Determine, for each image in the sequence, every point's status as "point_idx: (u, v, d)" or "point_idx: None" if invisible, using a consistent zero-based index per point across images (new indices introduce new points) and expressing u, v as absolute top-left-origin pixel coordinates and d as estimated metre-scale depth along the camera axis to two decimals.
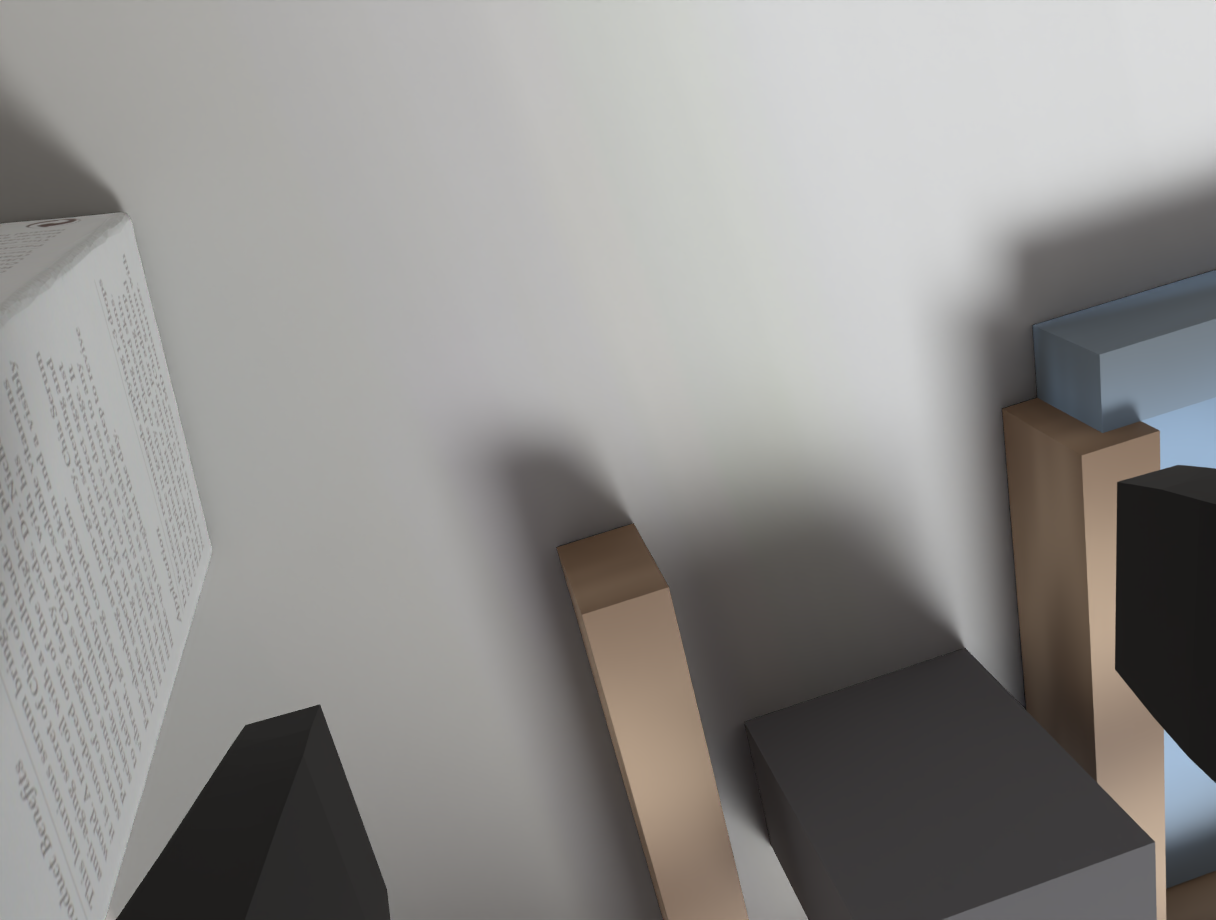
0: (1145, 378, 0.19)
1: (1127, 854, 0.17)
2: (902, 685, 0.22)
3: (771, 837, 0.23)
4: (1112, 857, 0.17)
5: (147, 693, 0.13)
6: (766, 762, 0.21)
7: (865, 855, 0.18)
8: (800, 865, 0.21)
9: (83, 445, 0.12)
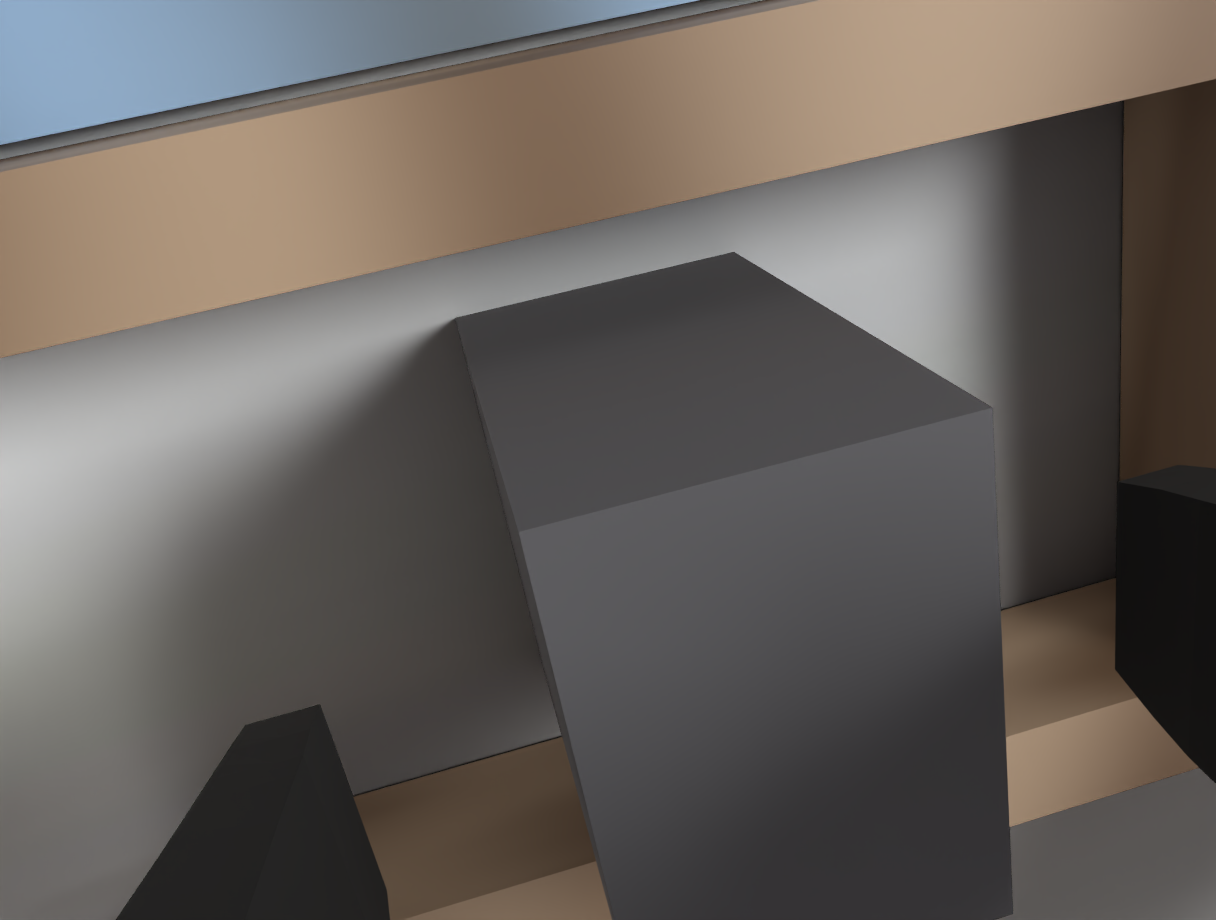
0: None
1: (545, 585, 0.07)
2: (491, 460, 0.13)
3: None
4: (546, 618, 0.08)
5: None
6: None
7: None
8: None
9: None
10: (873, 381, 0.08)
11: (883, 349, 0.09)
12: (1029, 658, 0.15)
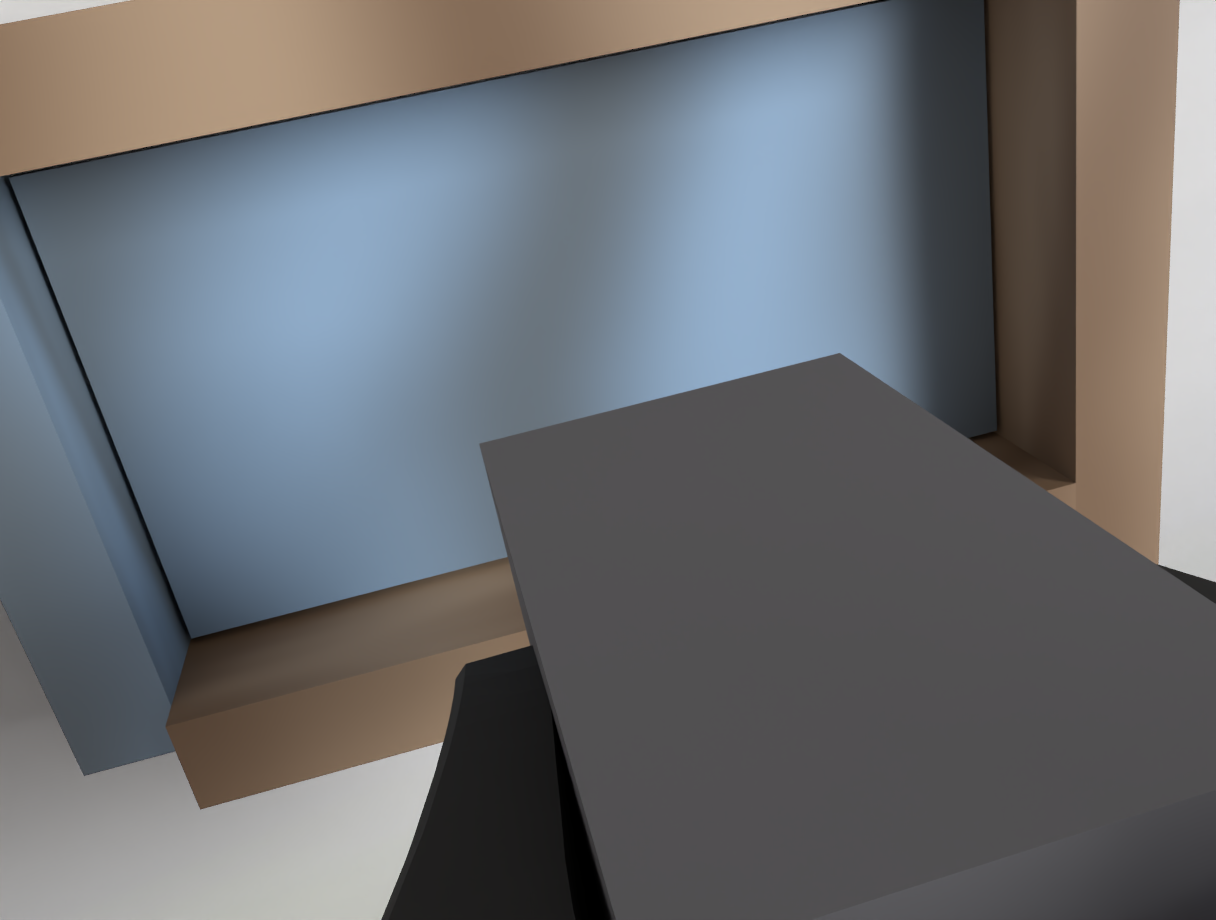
0: (113, 714, 0.15)
1: None
2: (526, 627, 0.10)
3: None
4: None
5: None
6: None
7: None
8: None
9: None
10: (1153, 638, 0.05)
11: (1137, 562, 0.06)
12: None
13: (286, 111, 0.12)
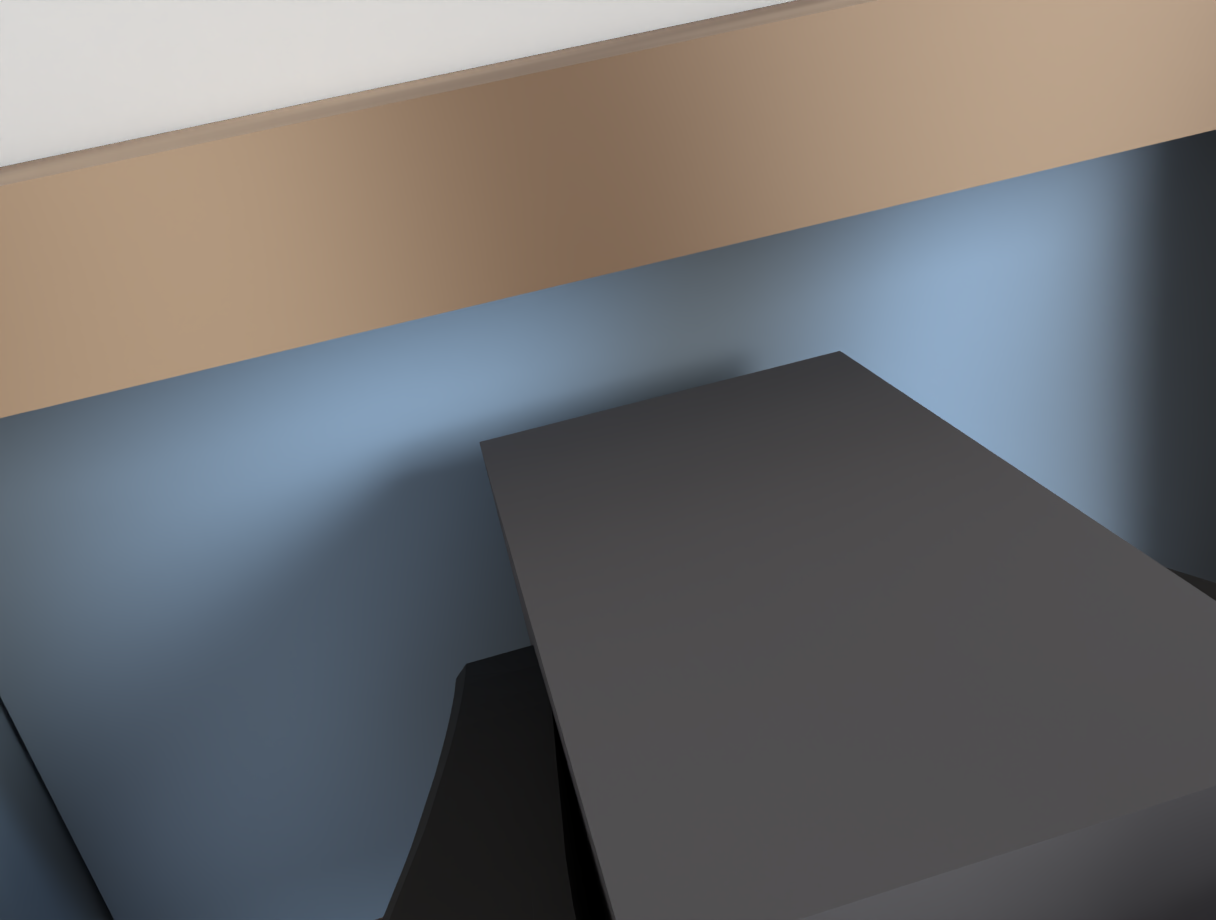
0: None
1: None
2: (526, 626, 0.10)
3: None
4: None
5: None
6: None
7: None
8: None
9: None
10: (1153, 635, 0.05)
11: (1137, 561, 0.06)
12: None
13: (267, 344, 0.08)
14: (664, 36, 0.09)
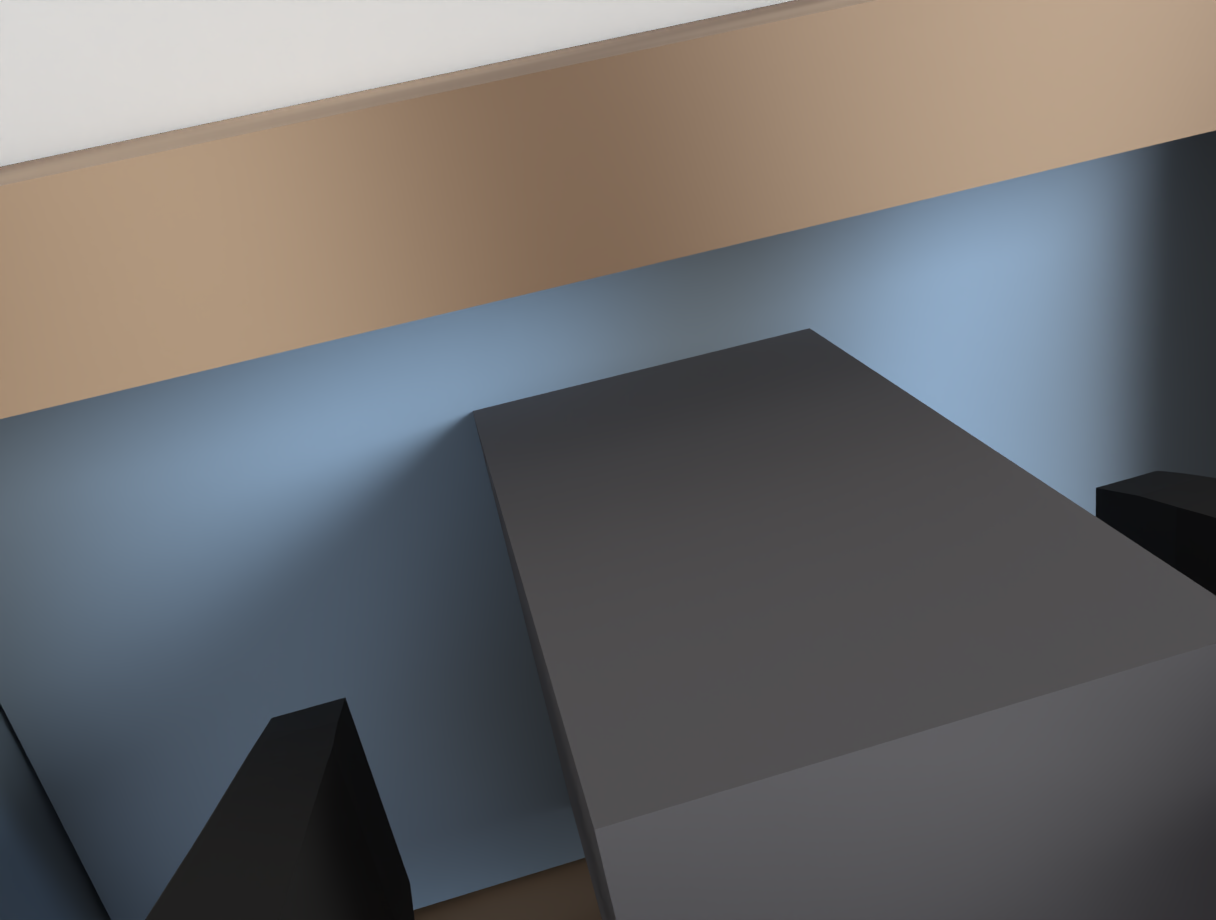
0: None
1: (630, 893, 0.05)
2: (516, 583, 0.11)
3: None
4: None
5: None
6: None
7: None
8: None
9: None
10: (1064, 562, 0.06)
11: (1057, 502, 0.07)
12: None
13: (265, 345, 0.08)
14: (665, 36, 0.09)
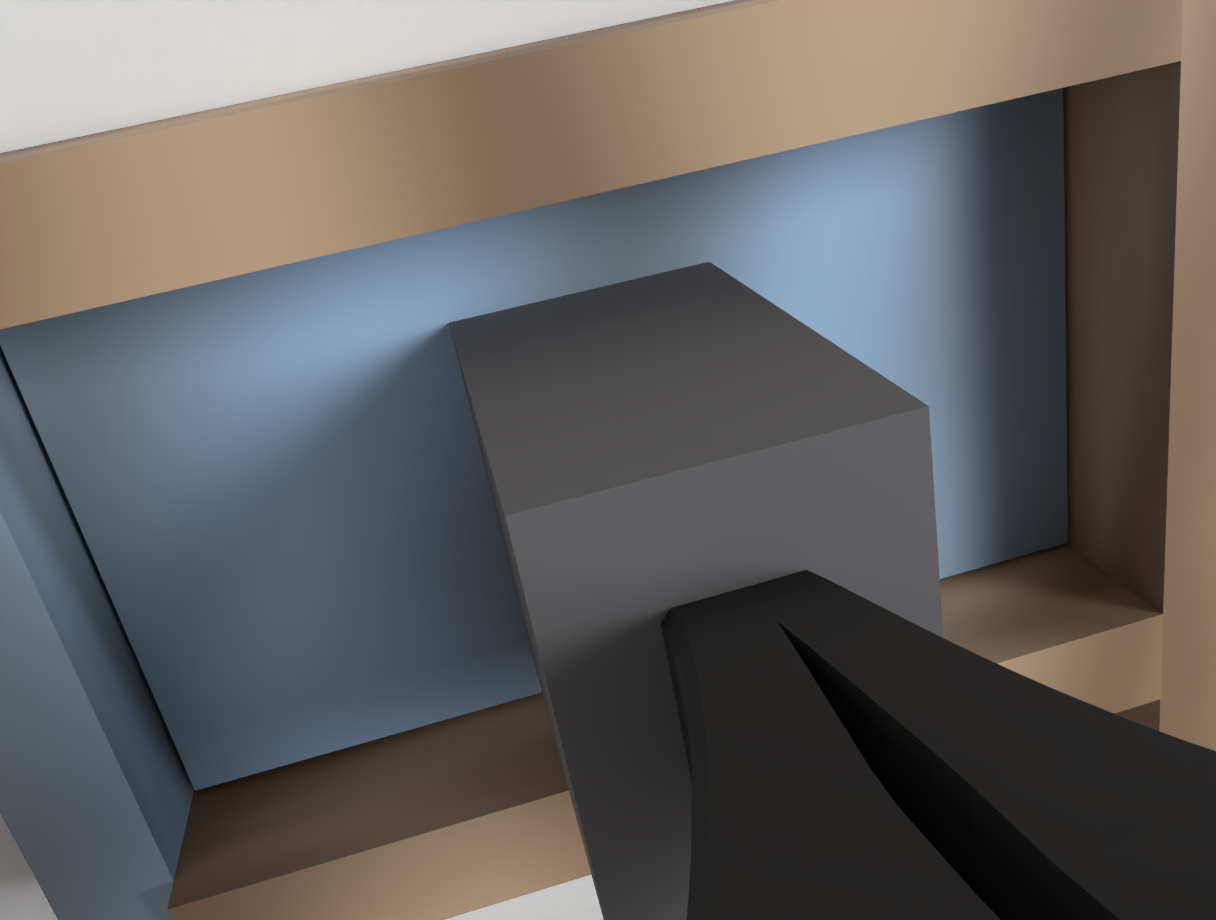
0: (109, 892, 0.14)
1: (529, 563, 0.08)
2: (482, 456, 0.14)
3: None
4: (530, 593, 0.08)
5: None
6: None
7: (573, 801, 0.11)
8: None
9: None
10: (826, 382, 0.09)
11: (838, 352, 0.10)
12: None
13: (297, 254, 0.11)
14: (585, 36, 0.12)
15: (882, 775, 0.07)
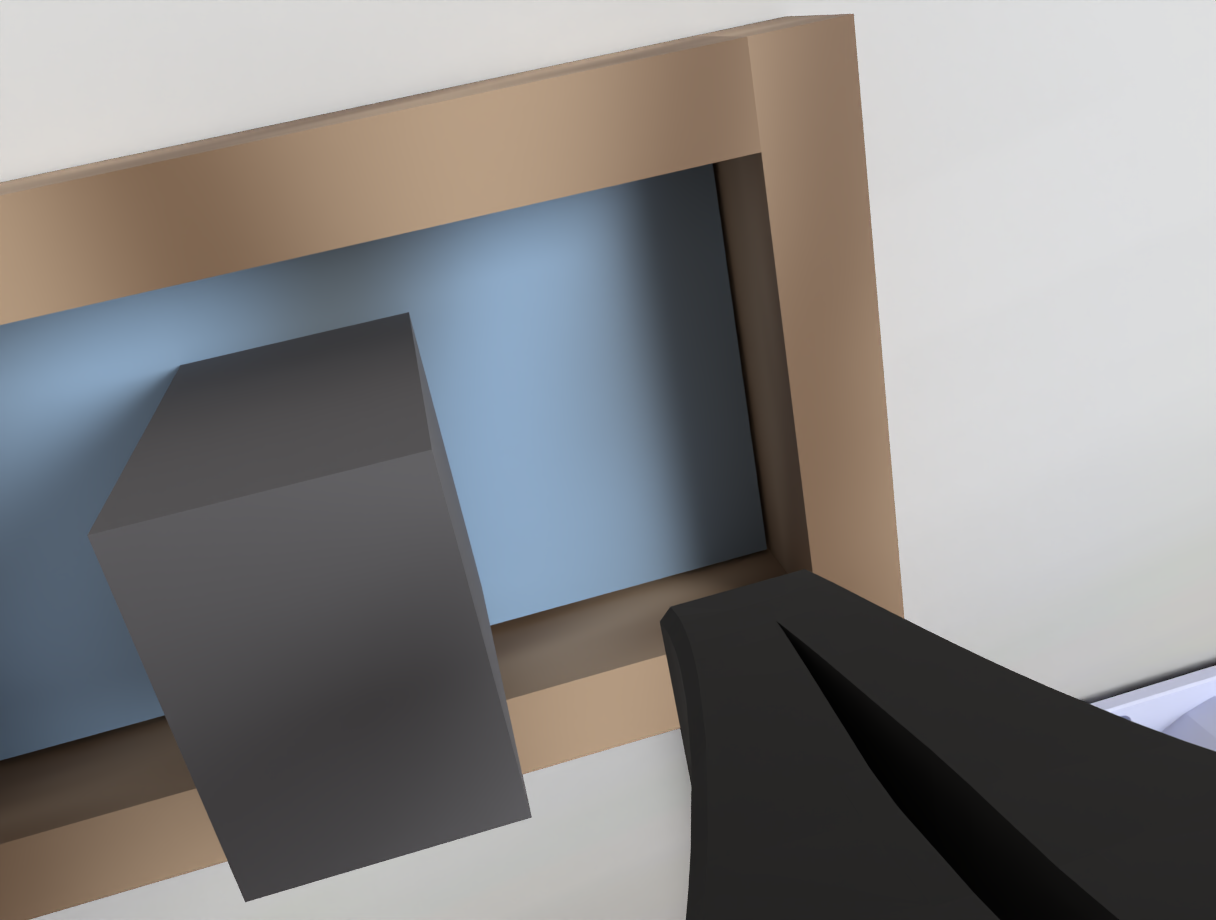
0: None
1: (115, 571, 0.11)
2: None
3: None
4: (119, 595, 0.11)
5: None
6: None
7: None
8: None
9: None
10: (386, 427, 0.12)
11: (417, 401, 0.13)
12: None
13: (2, 318, 0.13)
14: (259, 134, 0.14)
15: (882, 776, 0.07)
